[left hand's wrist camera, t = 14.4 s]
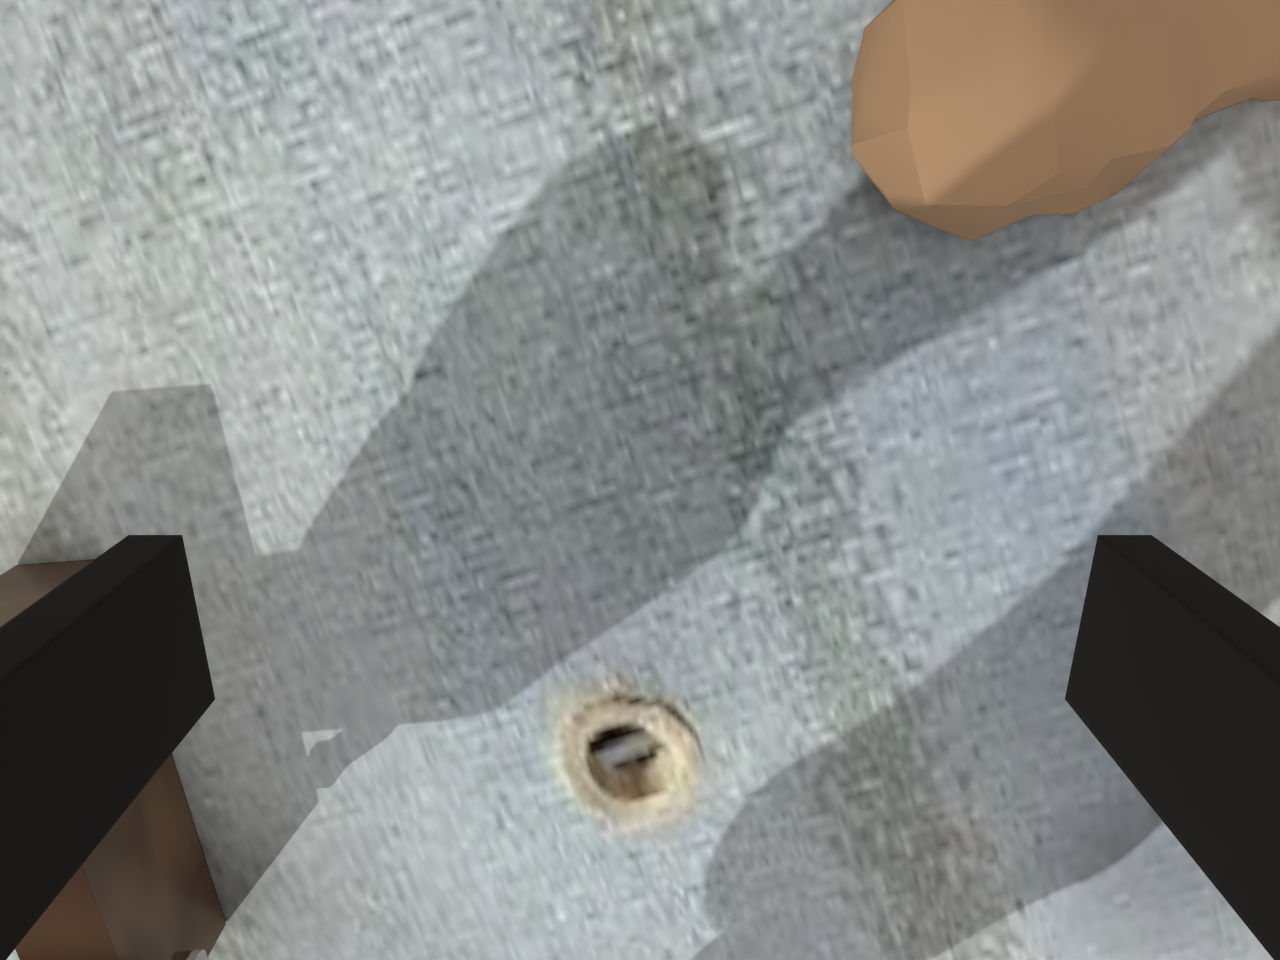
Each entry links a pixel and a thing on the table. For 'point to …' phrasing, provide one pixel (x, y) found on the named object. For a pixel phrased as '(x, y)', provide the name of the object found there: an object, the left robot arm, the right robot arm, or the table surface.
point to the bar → (124, 855)
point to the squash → (1044, 98)
